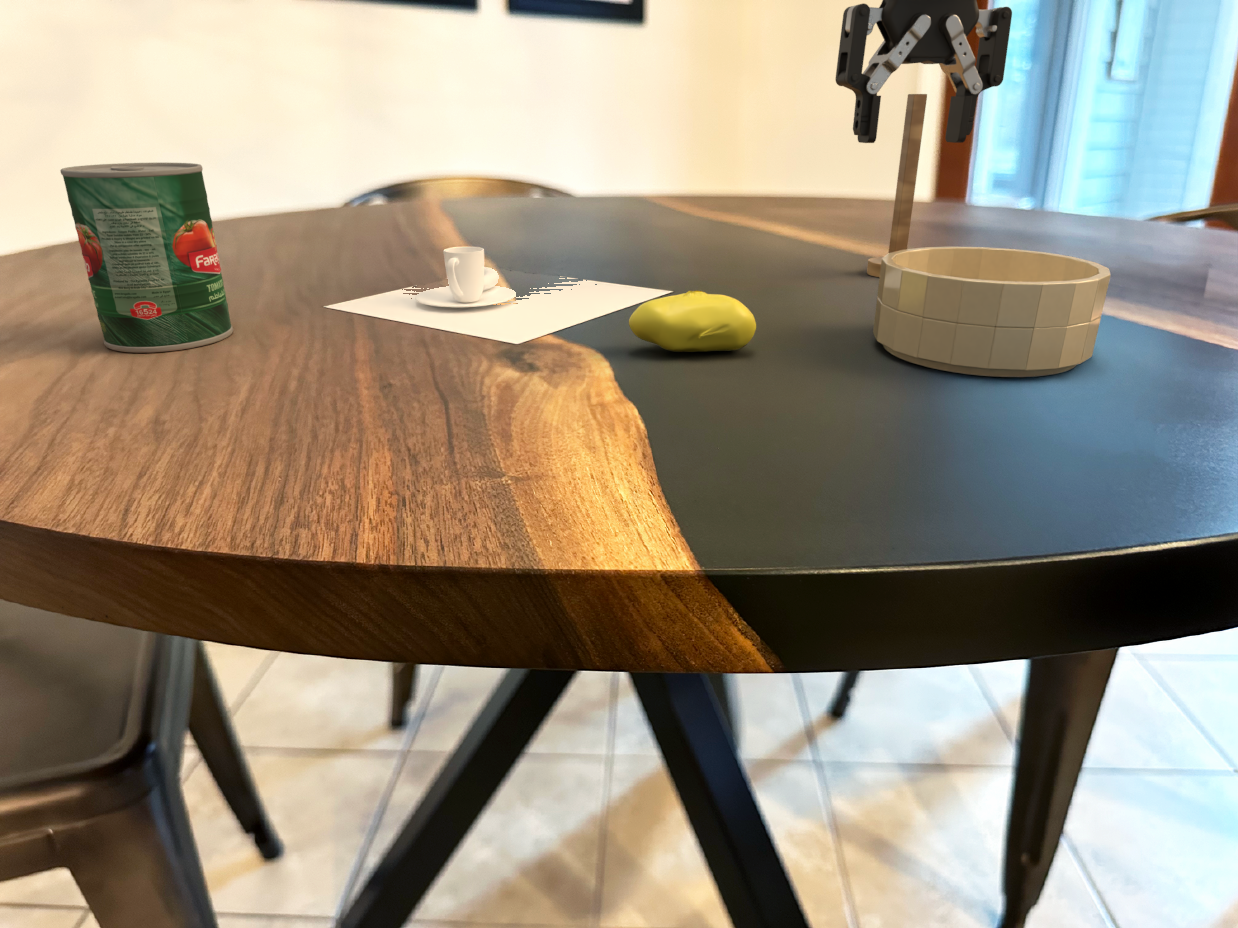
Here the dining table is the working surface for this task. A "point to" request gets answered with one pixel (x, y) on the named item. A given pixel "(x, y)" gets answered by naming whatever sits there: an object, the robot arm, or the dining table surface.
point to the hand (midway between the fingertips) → (911, 142)
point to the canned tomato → (149, 254)
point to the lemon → (694, 322)
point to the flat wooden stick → (905, 178)
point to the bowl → (989, 309)
